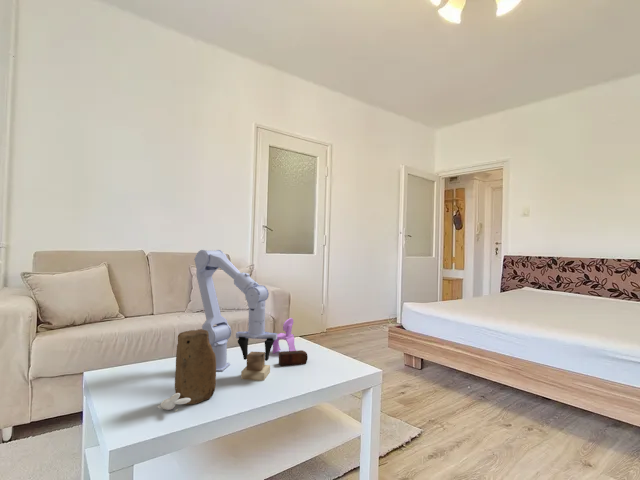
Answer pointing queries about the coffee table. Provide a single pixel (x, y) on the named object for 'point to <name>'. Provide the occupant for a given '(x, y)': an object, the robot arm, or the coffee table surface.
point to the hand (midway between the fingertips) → (256, 359)
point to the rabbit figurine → (173, 402)
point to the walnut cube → (255, 361)
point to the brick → (292, 358)
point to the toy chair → (285, 336)
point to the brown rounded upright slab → (195, 366)
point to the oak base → (255, 373)
